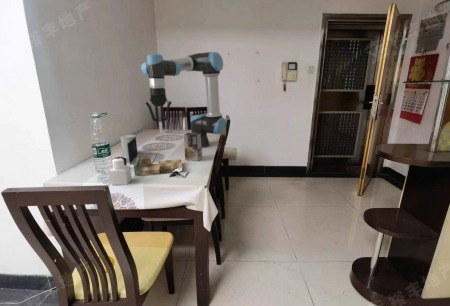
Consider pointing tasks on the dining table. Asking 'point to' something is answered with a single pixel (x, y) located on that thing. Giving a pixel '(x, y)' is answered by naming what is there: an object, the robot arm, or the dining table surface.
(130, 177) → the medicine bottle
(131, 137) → the grey mottled cylinder
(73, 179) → the dining table surface
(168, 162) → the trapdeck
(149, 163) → the block
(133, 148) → the laptop
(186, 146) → the coffee box
